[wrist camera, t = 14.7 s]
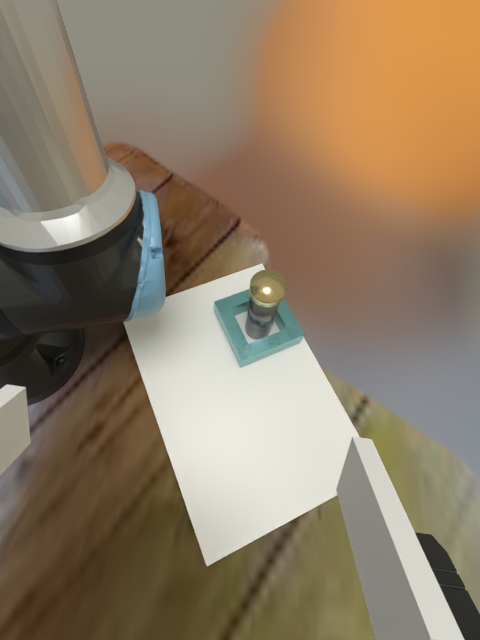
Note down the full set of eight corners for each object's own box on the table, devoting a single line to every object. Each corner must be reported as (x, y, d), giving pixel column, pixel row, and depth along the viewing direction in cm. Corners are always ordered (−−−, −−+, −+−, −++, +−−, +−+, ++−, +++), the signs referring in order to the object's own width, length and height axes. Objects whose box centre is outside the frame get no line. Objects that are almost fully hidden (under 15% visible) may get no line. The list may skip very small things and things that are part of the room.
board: (122, 316, 49) (120, 313, 48) (261, 267, 53) (262, 263, 53) (207, 564, 37) (206, 566, 36) (375, 472, 42) (379, 471, 41)
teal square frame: (214, 311, 49) (213, 301, 46) (270, 290, 51) (273, 279, 48) (240, 368, 45) (241, 360, 43) (299, 343, 47) (304, 334, 45)
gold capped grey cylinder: (238, 321, 48) (244, 276, 38) (264, 311, 49) (276, 265, 39) (250, 345, 47) (260, 306, 36) (277, 335, 48) (293, 293, 37)
